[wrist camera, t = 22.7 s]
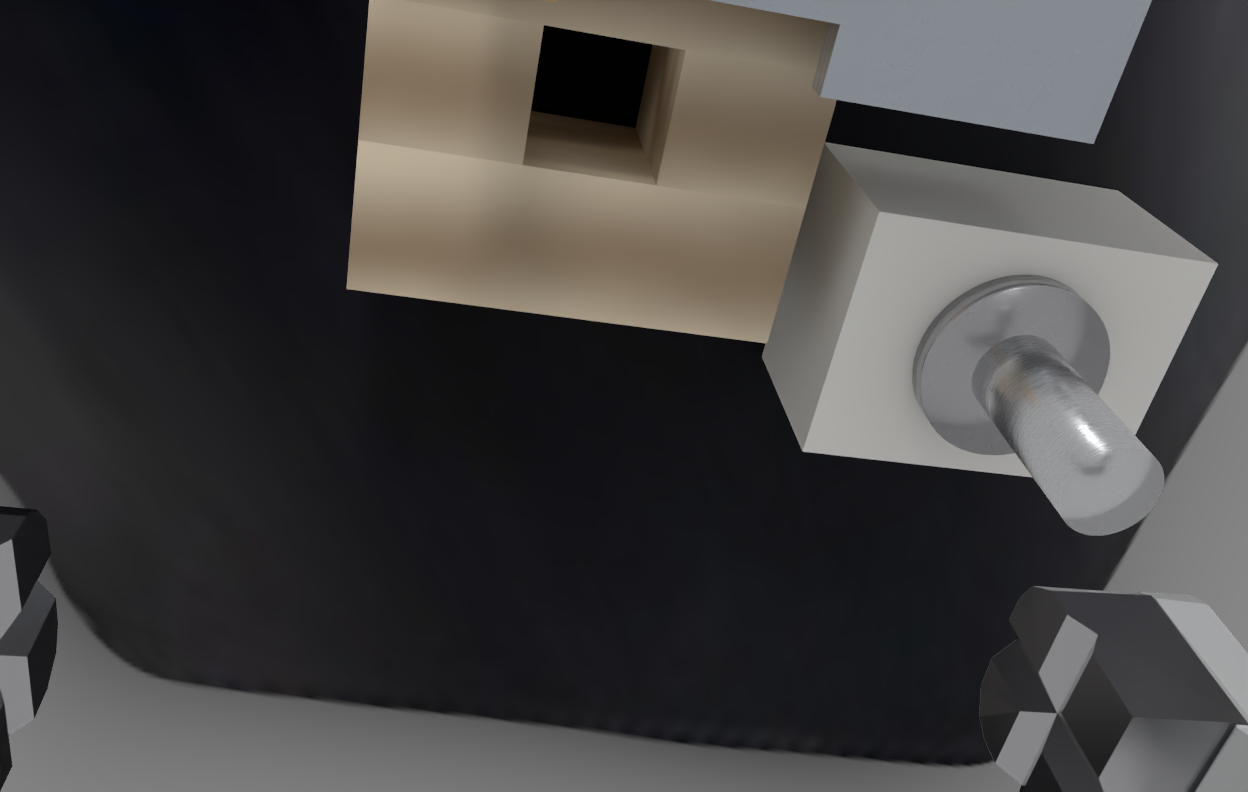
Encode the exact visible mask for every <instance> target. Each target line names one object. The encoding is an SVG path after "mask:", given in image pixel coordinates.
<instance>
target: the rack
mask: <svg viewBox="0 0 1248 792" xmlns="http://www.w3.org/2000/svg"><path fill="white" fill-rule="evenodd" d="M1217 266H1218V263H1216V262H1215V261H1214V260H1212V259H1211V258H1209V257H1208V256H1207V255H1205V254H1204V253H1203V252H1201V251H1200V250H1199V249H1197V248H1196V247H1194V246H1193V245H1192V244H1190V243H1189V242H1188V241H1186V240H1185V239H1184V238H1182V237H1181V236H1179V235H1178V234H1177V233H1175V232H1174V231H1173V230H1171V229H1170V228H1168V227H1167V226H1166V225H1164V224H1163V223H1162V222H1160V221H1159V220H1158V219H1156V218H1155V217H1153V216H1152V215H1151V214H1149V213H1148V212H1147V211H1145V210H1144V209H1143V208H1141V207H1140V206H1138V205H1137V204H1136V203H1134V202H1133V201H1132V200H1130V199H1129V198H1128V197H1126V196H1125V195H1123V194H1122V193H1121V192H1119V191H1118V190H1112V189H1106V188H1100V187H1094V186H1088V185H1082V184H1076V183H1069V182H1063V181H1057V180H1051V179H1045V178H1039V177H1033V176H1027V175H1021V174H1015V173H1009V172H1003V171H997V170H991V169H985V168H979V167H973V166H967V165H961V164H954V163H948V162H942V161H936V160H930V159H924V158H918V157H912V156H906V155H900V154H894V153H888V152H882V151H876V150H870V149H864V148H858V147H852V146H846V145H839V144H833V143H827V142H825V143H824V147H823V150H822V154H821V157H820V161H819V164H818V168H817V171H816V175H815V178H814V182H813V185H812V189H811V192H810V196H809V199H808V203H807V206H806V210H805V213H804V217H803V220H802V224H801V227H800V231H799V234H798V238H797V241H796V245H795V248H794V252H793V255H792V258H791V262H790V265H789V269H788V272H787V276H786V279H785V283H784V286H783V290H782V293H781V297H780V300H779V304H778V307H777V311H776V314H775V318H774V321H773V325H772V328H771V332H770V335H769V339H768V342H767V343H766V344H765V347H764V351H763V354H762V358H763V361H764V363H765V365H766V368H767V370H768V372H769V375H770V377H771V379H772V382H773V384H774V386H775V389H776V391H777V393H778V396H779V398H780V400H781V403H782V405H783V407H784V410H785V412H786V414H787V417H788V419H789V421H790V424H791V426H792V428H793V431H794V433H795V435H796V438H797V440H798V442H799V445H800V447H801V449H802V452H811V453H820V454H829V455H838V456H847V457H856V458H865V459H873V460H882V461H891V462H900V463H909V464H918V465H927V466H936V467H945V468H954V469H962V470H971V471H980V472H989V473H998V474H1007V475H1016V476H1025V477H1032V476H1031V474H1030V473H1029V471H1028V470H1027V469H1026V467H1025V466H1024V464H1023V463H1022V462H1021V460H1020V459H1019V458H1018V456H1017V455H1016V453H1012V454H1006V455H982V454H976V453H971V452H968V451H965V450H962V449H960V448H958V447H956V446H954V445H952V444H950V443H949V442H947V441H946V440H944V439H943V438H942V437H941V436H940V435H939V434H938V433H937V432H936V431H935V429H934V428H933V427H932V425H931V424H930V422H929V421H928V419H927V417H926V416H925V414H924V413H923V411H922V410H921V408H920V406H919V404H918V402H917V400H916V397H915V394H914V390H913V383H912V369H913V362H914V357H915V354H916V350H917V348H918V345H919V343H920V341H921V338H922V337H923V335H924V333H925V332H926V330H927V328H928V327H929V325H930V324H931V323H932V321H933V320H934V319H935V317H936V316H937V315H938V314H939V313H940V312H941V311H942V310H943V309H944V308H945V307H946V306H947V305H949V304H950V303H951V302H952V301H953V300H954V299H956V298H957V297H959V296H960V295H962V294H963V293H965V292H966V291H968V290H970V289H972V288H974V287H976V286H978V285H980V284H982V283H985V282H987V281H990V280H993V279H997V278H1000V277H1005V276H1011V275H1026V274H1027V275H1039V276H1044V277H1048V278H1052V279H1054V280H1057V281H1060V282H1062V283H1063V284H1065V285H1067V286H1069V287H1070V288H1071V289H1073V290H1074V291H1075V292H1076V293H1078V294H1079V295H1080V296H1081V297H1082V298H1083V299H1084V300H1085V301H1086V302H1087V303H1088V304H1089V305H1090V306H1091V307H1092V308H1093V309H1094V310H1095V311H1096V312H1097V314H1098V315H1099V316H1100V318H1101V320H1102V321H1103V323H1104V325H1105V328H1106V330H1107V333H1108V337H1109V342H1110V361H1109V367H1108V371H1107V375H1106V378H1105V380H1104V383H1103V386H1102V388H1101V390H1100V391H1099V393H1098V396H1099V397H1100V398H1101V399H1102V400H1103V401H1104V402H1105V403H1106V404H1107V406H1108V407H1109V408H1110V409H1111V410H1112V411H1113V412H1114V413H1115V414H1116V415H1117V416H1118V418H1119V419H1120V420H1121V421H1122V422H1123V423H1124V424H1125V425H1126V426H1127V427H1128V429H1129V430H1130V431H1131V432H1132V433H1133V434H1134V435H1135V434H1136V432H1137V430H1138V428H1139V426H1140V424H1141V422H1142V420H1143V418H1144V416H1145V414H1146V412H1147V410H1148V408H1149V406H1150V404H1151V401H1152V399H1153V397H1154V395H1155V393H1156V391H1157V389H1158V387H1159V385H1160V383H1161V381H1162V379H1163V377H1164V375H1165V373H1166V371H1167V369H1168V367H1169V364H1170V362H1171V360H1172V358H1173V356H1174V354H1175V352H1176V350H1177V348H1178V346H1179V344H1180V342H1181V340H1182V338H1183V336H1184V334H1185V332H1186V330H1187V328H1188V325H1189V323H1190V321H1191V319H1192V317H1193V315H1194V313H1195V311H1196V309H1197V307H1198V305H1199V303H1200V301H1201V299H1202V297H1203V295H1204V293H1205V291H1206V288H1207V286H1208V284H1209V282H1210V280H1211V278H1212V276H1213V274H1214V272H1215V270H1216V268H1217Z"/></svg>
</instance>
